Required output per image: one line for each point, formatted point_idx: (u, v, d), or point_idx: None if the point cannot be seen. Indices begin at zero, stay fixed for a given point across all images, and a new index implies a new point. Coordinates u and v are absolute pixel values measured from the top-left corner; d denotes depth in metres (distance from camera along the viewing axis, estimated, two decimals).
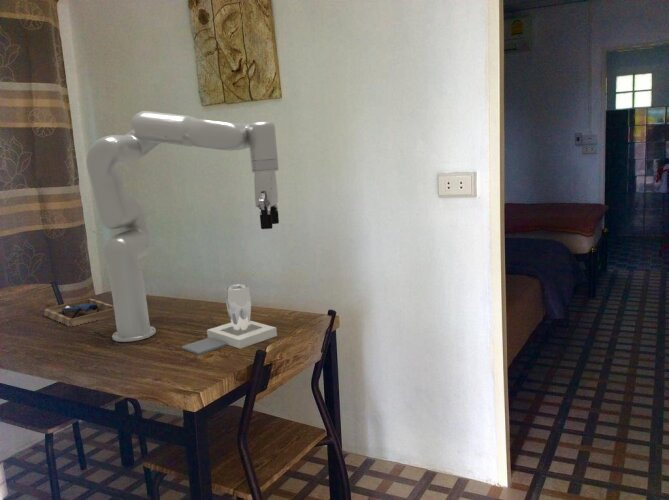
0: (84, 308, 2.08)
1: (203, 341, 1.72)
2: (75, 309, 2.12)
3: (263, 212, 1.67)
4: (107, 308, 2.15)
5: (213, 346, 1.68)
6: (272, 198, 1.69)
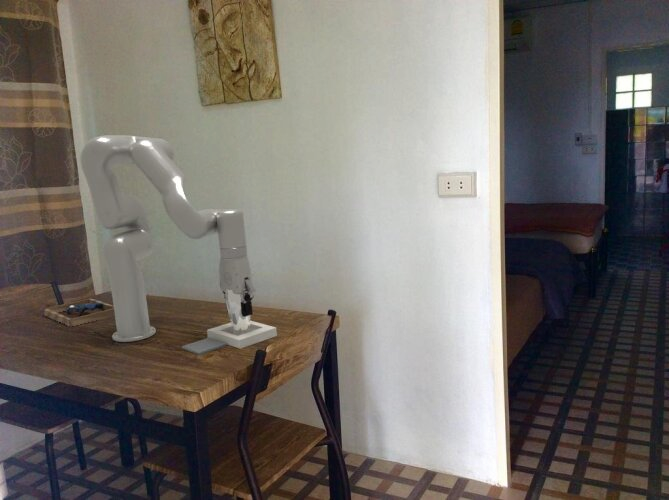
0: (90, 307, 2.08)
1: (203, 341, 1.72)
2: (80, 308, 2.12)
3: (249, 300, 1.70)
4: (107, 308, 2.15)
5: (213, 346, 1.68)
6: None
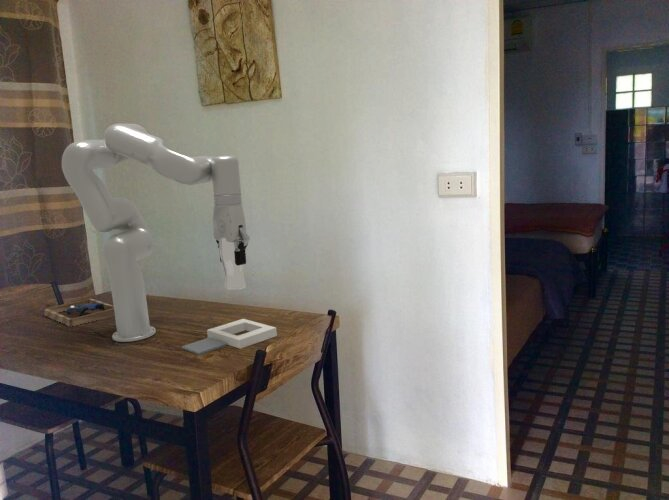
0: (90, 307, 2.08)
1: (203, 341, 1.72)
2: (81, 309, 2.12)
3: (242, 248, 1.67)
4: (107, 308, 2.15)
5: (213, 346, 1.68)
6: None
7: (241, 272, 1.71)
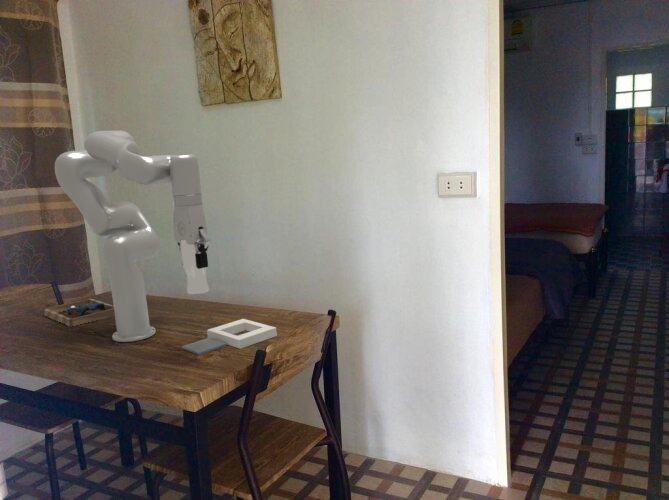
0: (91, 307, 2.08)
1: (203, 341, 1.72)
2: (81, 309, 2.11)
3: (203, 250, 1.61)
4: (107, 308, 2.15)
5: (213, 346, 1.68)
6: None
7: (203, 275, 1.65)
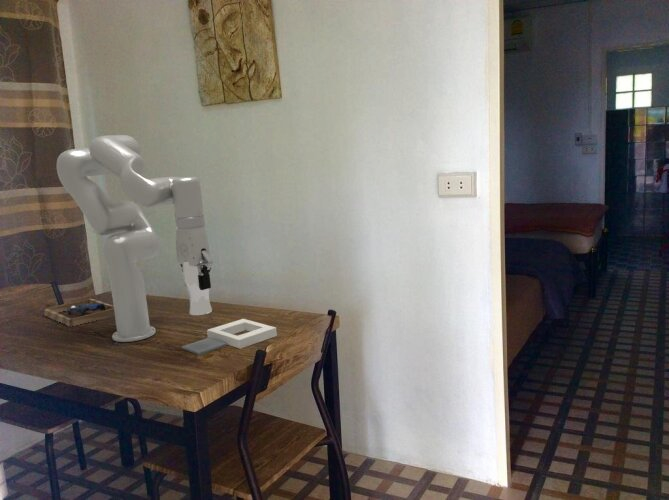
0: (92, 308, 2.07)
1: (203, 341, 1.72)
2: (82, 309, 2.11)
3: (206, 272, 1.62)
4: (107, 308, 2.15)
5: (213, 346, 1.68)
6: None
7: (206, 296, 1.65)
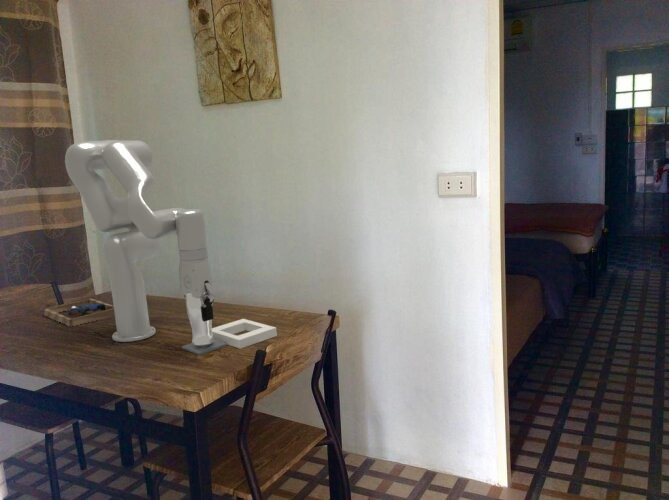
0: (92, 308, 2.07)
1: None
2: (82, 309, 2.11)
3: (209, 304, 1.63)
4: (107, 308, 2.15)
5: (213, 346, 1.68)
6: None
7: (208, 327, 1.67)
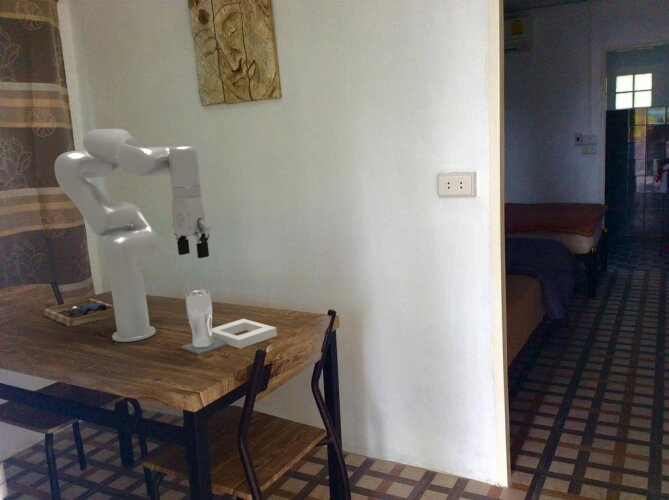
0: (93, 308, 2.07)
1: None
2: (83, 309, 2.10)
3: (204, 240, 1.59)
4: (107, 308, 2.15)
5: (213, 346, 1.68)
6: None
7: (209, 330, 1.67)
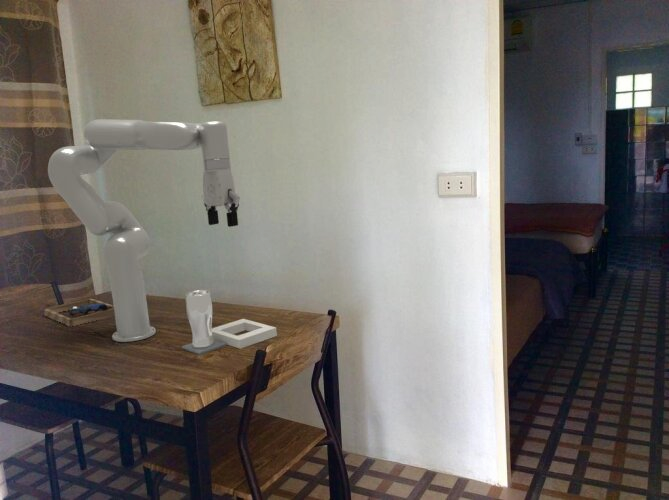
0: (94, 308, 2.06)
1: None
2: (84, 309, 2.10)
3: (234, 209, 1.70)
4: (107, 308, 2.15)
5: (213, 346, 1.68)
6: None
7: (209, 330, 1.67)
